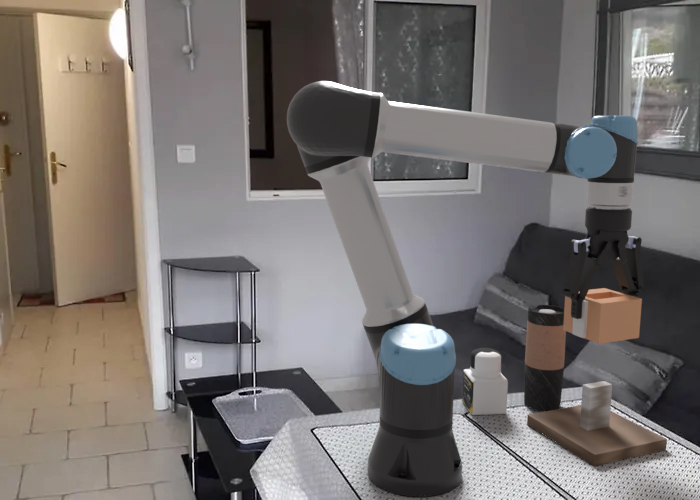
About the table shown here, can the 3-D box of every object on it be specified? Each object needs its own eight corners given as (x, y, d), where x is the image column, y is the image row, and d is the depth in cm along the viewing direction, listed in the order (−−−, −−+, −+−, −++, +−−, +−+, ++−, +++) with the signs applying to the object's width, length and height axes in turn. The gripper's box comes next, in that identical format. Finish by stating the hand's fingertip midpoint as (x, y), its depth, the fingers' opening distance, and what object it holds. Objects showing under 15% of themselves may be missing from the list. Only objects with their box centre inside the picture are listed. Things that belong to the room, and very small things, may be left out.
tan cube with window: (598, 343, 119) (601, 303, 118) (563, 329, 127) (565, 292, 126) (639, 337, 123) (642, 298, 121) (602, 324, 131) (604, 288, 129)
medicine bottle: (461, 401, 144) (463, 345, 142) (495, 400, 145) (498, 344, 143) (471, 415, 137) (473, 356, 135) (506, 414, 138) (509, 355, 136)
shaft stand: (594, 466, 117) (598, 409, 115) (527, 424, 133) (529, 374, 131) (665, 449, 123) (670, 395, 121) (593, 412, 139) (596, 363, 138)
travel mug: (563, 413, 138) (569, 315, 135) (523, 410, 140) (528, 312, 137) (559, 399, 146) (565, 305, 143) (522, 396, 147) (526, 303, 144)
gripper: (573, 211, 113) (566, 345, 117) (673, 206, 122) (663, 331, 126) (543, 206, 120) (537, 334, 124) (640, 202, 129) (631, 321, 132)
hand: (600, 332), depth 125 cm, fingers closed on tan cube with window, 9 cm apart
